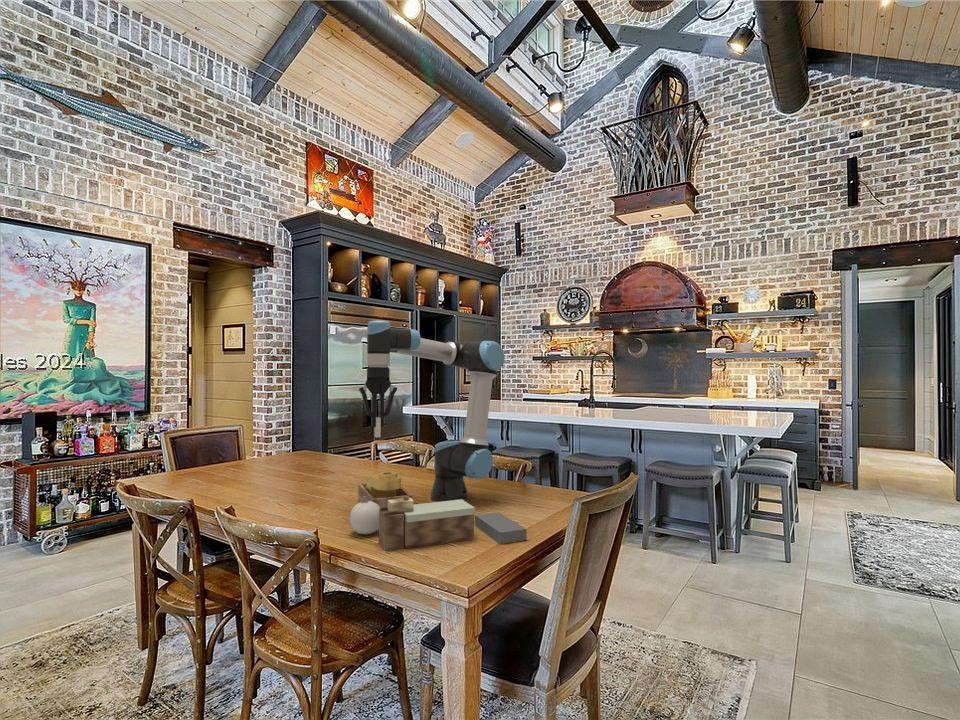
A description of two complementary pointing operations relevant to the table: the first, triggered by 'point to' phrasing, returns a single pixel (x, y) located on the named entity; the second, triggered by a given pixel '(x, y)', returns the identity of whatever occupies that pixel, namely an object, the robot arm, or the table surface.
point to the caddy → (380, 501)
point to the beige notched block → (401, 504)
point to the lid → (439, 510)
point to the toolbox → (421, 530)
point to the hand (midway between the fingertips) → (377, 436)
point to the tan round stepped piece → (383, 484)
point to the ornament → (365, 517)
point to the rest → (500, 528)
